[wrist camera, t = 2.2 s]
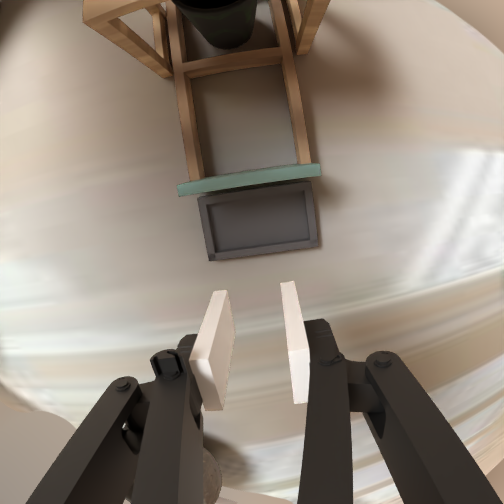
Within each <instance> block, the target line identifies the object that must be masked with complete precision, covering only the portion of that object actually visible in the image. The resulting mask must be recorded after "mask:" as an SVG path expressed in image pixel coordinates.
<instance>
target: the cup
mask: <svg viewBox="0 0 504 504" xmlns="http://www.w3.org/2000/svg"><path fill="white" fill-rule="evenodd" d="M171 1H172V2H173V3H174V4H175V5H176V6H177V8H178V9H179V10H180V11H181V12H182V13H183V14H184V15H185V16H186V17H187V18H188V20H189V21H190V22H191V23H192V24H193V25H194V26H195V27H196V28H197V30H198V31H199V32H200V33H201V34H202V35H203V36H204V38H205V39H206V40H207V41H208V42H209V43H210V44H211V45H213V46H214V47H217V48H220V49H233V48H237V47H239V46H241V45H243V44H244V43H246V42H247V41H248V39H249V38H250V37H251V35H252V32H253V26H254V19H255V13H256V7H257V0H171Z"/></svg>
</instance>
